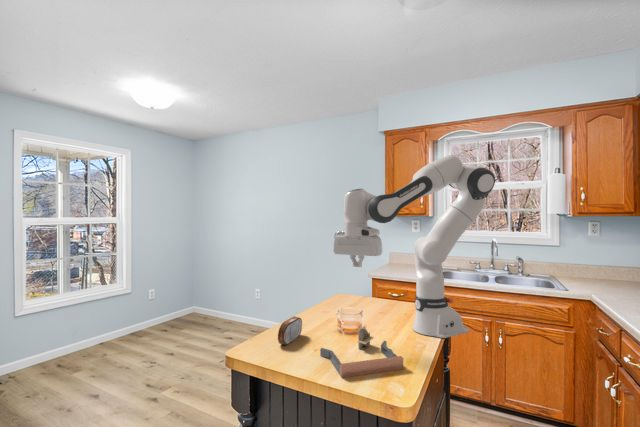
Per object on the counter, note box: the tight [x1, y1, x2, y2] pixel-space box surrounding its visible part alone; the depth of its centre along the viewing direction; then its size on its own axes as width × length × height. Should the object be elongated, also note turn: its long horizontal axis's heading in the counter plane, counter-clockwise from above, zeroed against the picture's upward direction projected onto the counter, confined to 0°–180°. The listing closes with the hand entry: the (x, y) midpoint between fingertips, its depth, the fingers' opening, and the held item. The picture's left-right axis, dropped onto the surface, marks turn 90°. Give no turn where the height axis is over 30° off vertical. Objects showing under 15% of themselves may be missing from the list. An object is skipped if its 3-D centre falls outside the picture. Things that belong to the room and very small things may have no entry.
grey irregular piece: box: [357, 325, 374, 350], centre depth 118 cm, size 3×7×7 cm, turn 147°
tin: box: [277, 315, 303, 346], centre depth 126 cm, size 15×3×8 cm, turn 155°
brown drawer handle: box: [319, 340, 404, 379], centre depth 108 cm, size 25×17×4 cm
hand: (357, 266), depth 126 cm, fingers closed
